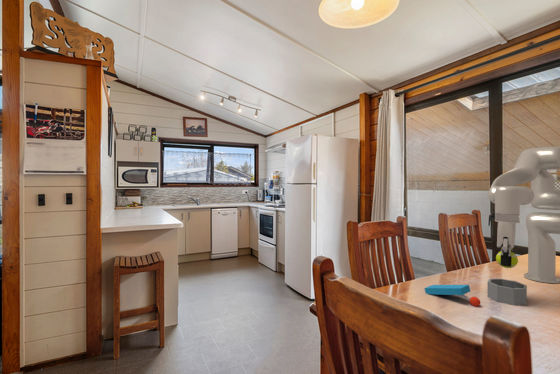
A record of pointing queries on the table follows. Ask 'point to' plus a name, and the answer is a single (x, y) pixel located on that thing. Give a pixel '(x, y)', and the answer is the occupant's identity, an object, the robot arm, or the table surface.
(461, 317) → the table surface
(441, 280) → the table surface
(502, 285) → the gray octagonal bowl
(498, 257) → the tennis ball
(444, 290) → the lever
